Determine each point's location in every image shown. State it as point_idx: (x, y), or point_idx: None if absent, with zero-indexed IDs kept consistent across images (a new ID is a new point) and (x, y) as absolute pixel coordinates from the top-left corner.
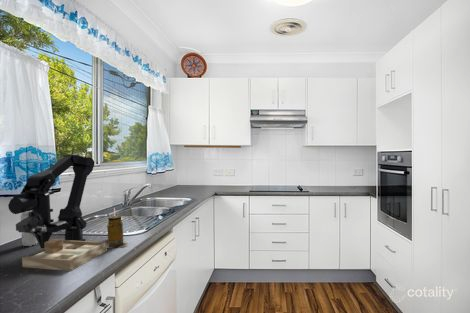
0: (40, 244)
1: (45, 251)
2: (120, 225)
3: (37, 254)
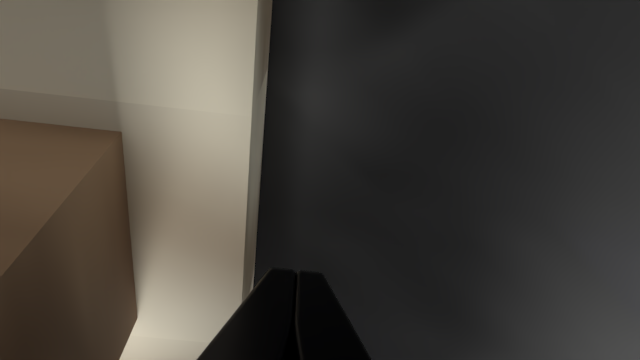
0: (310, 330)
1: (88, 145)
2: None
3: (216, 31)
